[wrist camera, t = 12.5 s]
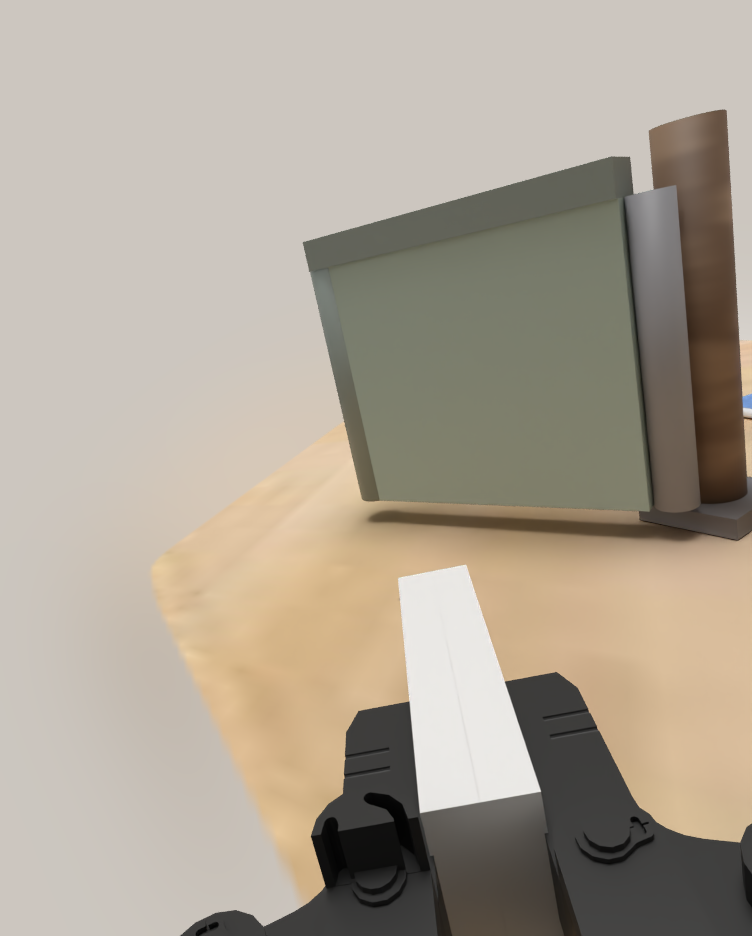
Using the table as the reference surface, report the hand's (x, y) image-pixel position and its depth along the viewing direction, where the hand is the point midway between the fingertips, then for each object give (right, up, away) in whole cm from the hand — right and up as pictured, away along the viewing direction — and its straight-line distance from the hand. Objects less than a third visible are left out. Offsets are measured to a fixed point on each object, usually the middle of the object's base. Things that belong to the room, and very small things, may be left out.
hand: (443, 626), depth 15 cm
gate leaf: (+6, +2, +22) cm, 23 cm away
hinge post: (+15, +1, +19) cm, 24 cm away
